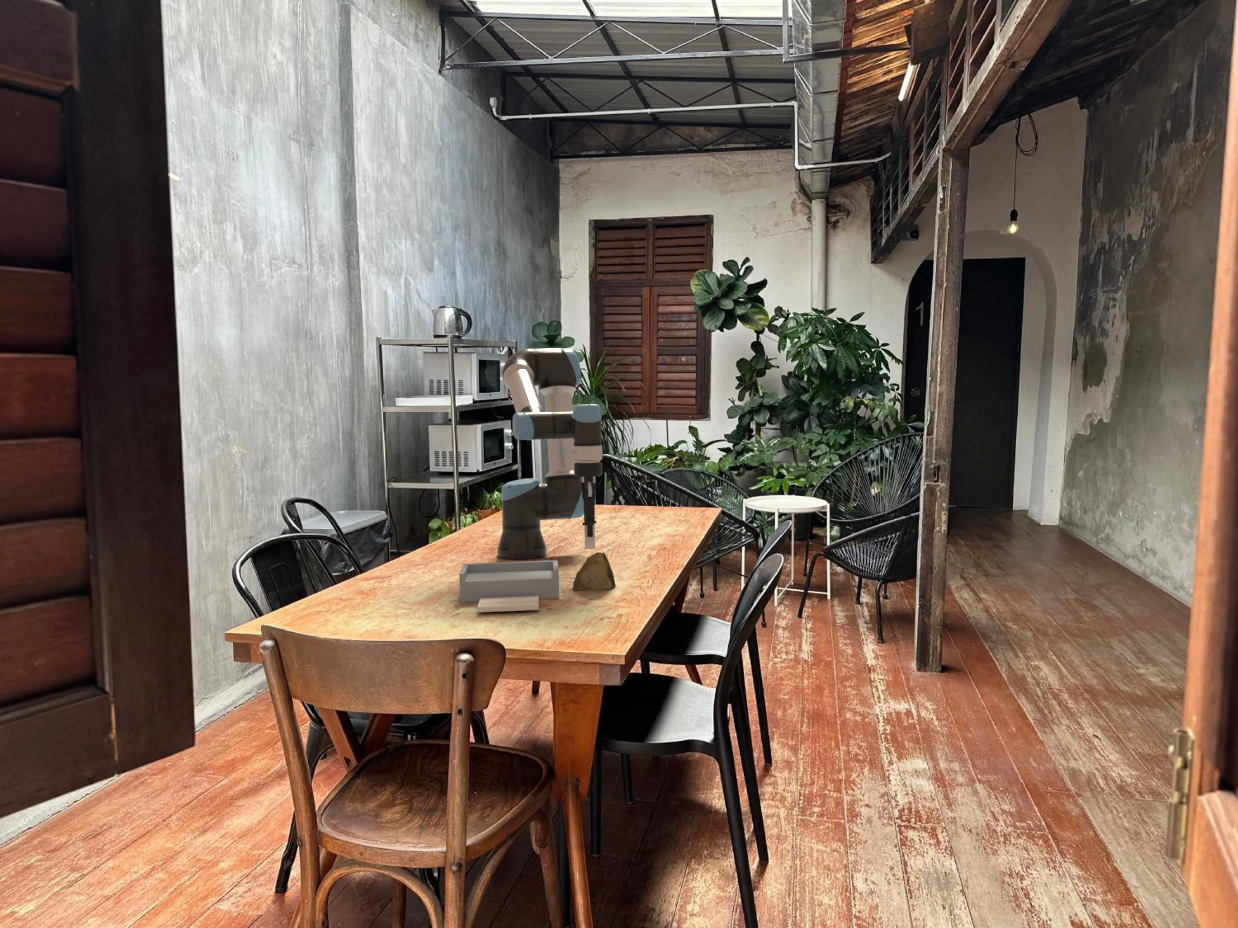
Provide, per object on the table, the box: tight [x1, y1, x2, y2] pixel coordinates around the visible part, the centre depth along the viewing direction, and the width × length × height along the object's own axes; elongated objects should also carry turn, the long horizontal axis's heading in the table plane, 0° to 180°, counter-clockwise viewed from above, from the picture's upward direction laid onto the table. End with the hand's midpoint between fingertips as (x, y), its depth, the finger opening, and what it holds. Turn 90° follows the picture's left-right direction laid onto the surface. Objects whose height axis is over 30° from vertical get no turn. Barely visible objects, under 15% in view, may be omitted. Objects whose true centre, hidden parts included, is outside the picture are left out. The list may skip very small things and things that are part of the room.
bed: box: [458, 559, 560, 603], centre depth 212 cm, size 12×24×7 cm, turn 96°
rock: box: [572, 551, 617, 591], centre depth 218 cm, size 11×9×10 cm
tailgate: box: [476, 596, 540, 613], centre depth 199 cm, size 1×14×11 cm
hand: (590, 548), depth 229 cm, fingers closed
